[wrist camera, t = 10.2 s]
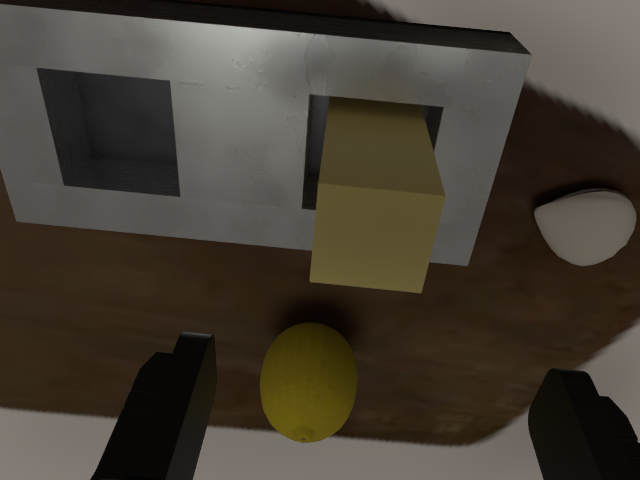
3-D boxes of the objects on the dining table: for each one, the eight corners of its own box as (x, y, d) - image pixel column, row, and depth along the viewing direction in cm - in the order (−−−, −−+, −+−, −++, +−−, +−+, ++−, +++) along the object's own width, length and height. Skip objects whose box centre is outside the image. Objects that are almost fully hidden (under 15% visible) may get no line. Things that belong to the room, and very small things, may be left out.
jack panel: (0, -17, 22) (-53, -2, 20) (509, 32, 22) (531, 54, 19) (51, 186, 28) (16, 221, 25) (456, 226, 28) (467, 265, 25)
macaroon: (589, 254, 29) (607, 283, 27) (507, 230, 28) (519, 257, 26) (638, 190, 26) (663, 216, 24) (550, 161, 26) (566, 186, 24)
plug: (330, 88, 24) (318, 183, 16) (418, 97, 24) (445, 196, 16) (322, 181, 26) (307, 298, 19) (400, 189, 26) (417, 309, 19)
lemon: (371, 344, 33) (374, 457, 27) (296, 367, 35) (282, 479, 29) (333, 283, 31) (326, 393, 24) (254, 312, 32) (228, 421, 26)
